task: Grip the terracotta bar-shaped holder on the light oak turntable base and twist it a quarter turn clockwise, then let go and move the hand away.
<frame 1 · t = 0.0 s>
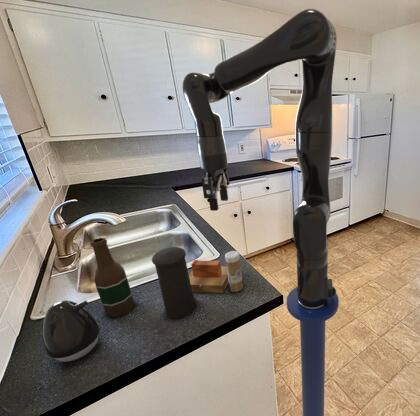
hand: (219, 205, 82), 30 cm above the worktop, tool pointing down, fingers open, 8 cm apart
container: (181, 309, 82), on the worktop
sprinkles bottle: (236, 288, 91), on the worktop
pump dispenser: (80, 351, 68), on the worktop
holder: (206, 268, 92), point 6 cm above the worktop, hinge at 0.0°
holder base: (209, 282, 94), on the worktop
beer bottle: (121, 309, 82), on the worktop
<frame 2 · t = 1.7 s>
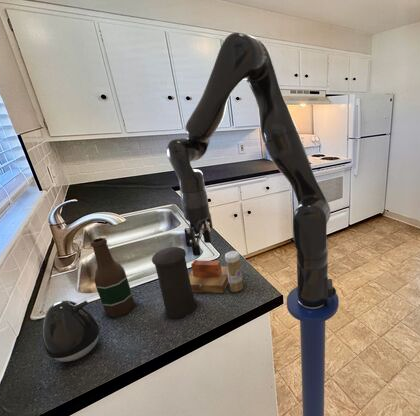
hand: (202, 248, 89), 14 cm above the worktop, tool pointing down, fingers open, 8 cm apart
nothing on the worktop moved.
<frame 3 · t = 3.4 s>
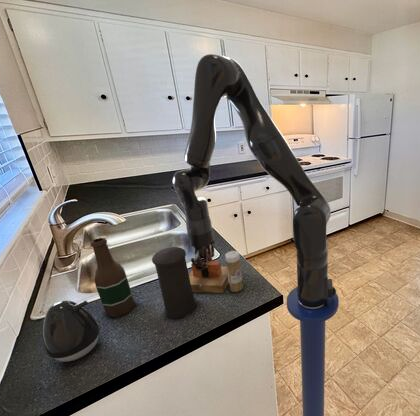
hand: (207, 273, 93), 4 cm above the worktop, tool pointing down, fingers closed on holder, 2 cm apart
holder: (206, 268, 92), point 6 cm above the worktop, hinge at 0.0°, touching gripper
everything else where it was.
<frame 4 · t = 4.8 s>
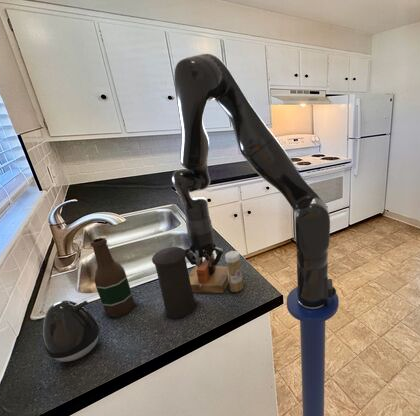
hand: (207, 274, 93), 4 cm above the worktop, tool pointing down, fingers closed on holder, 2 cm apart
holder: (206, 268, 92), point 6 cm above the worktop, hinge at -89.2°, touching gripper
everything else where it was.
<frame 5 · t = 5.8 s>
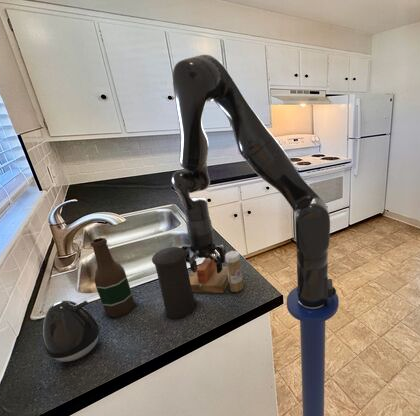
hand: (207, 271, 93), 4 cm above the worktop, tool pointing down, fingers open, 8 cm apart
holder: (206, 268, 92), point 6 cm above the worktop, hinge at -89.2°
everything else where it was.
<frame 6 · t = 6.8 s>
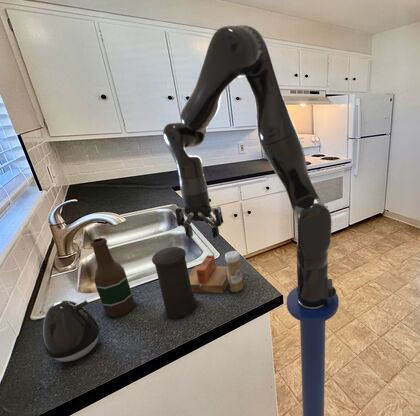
hand: (203, 236, 88), 18 cm above the worktop, tool pointing down, fingers open, 8 cm apart
nothing on the worktop moved.
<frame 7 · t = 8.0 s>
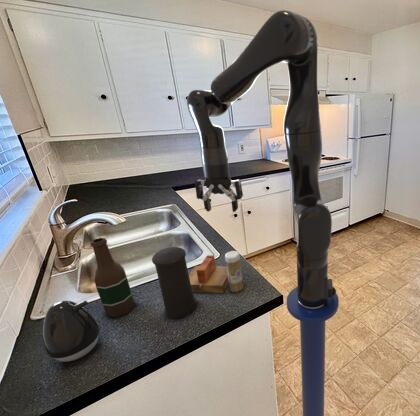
hand: (222, 210, 87), 26 cm above the worktop, tool pointing down, fingers open, 8 cm apart
nothing on the worktop moved.
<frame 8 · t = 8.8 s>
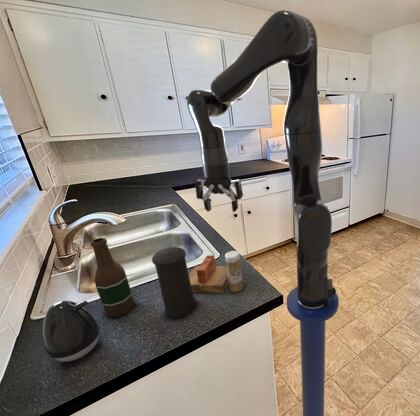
hand: (222, 210, 87), 26 cm above the worktop, tool pointing down, fingers open, 8 cm apart
nothing on the worktop moved.
at the end: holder at -89° (first picture: +0°); the gripper is holding nothing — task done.
